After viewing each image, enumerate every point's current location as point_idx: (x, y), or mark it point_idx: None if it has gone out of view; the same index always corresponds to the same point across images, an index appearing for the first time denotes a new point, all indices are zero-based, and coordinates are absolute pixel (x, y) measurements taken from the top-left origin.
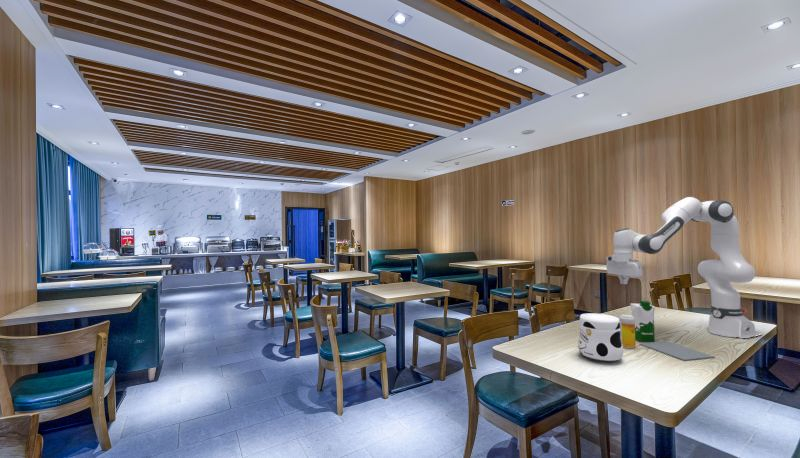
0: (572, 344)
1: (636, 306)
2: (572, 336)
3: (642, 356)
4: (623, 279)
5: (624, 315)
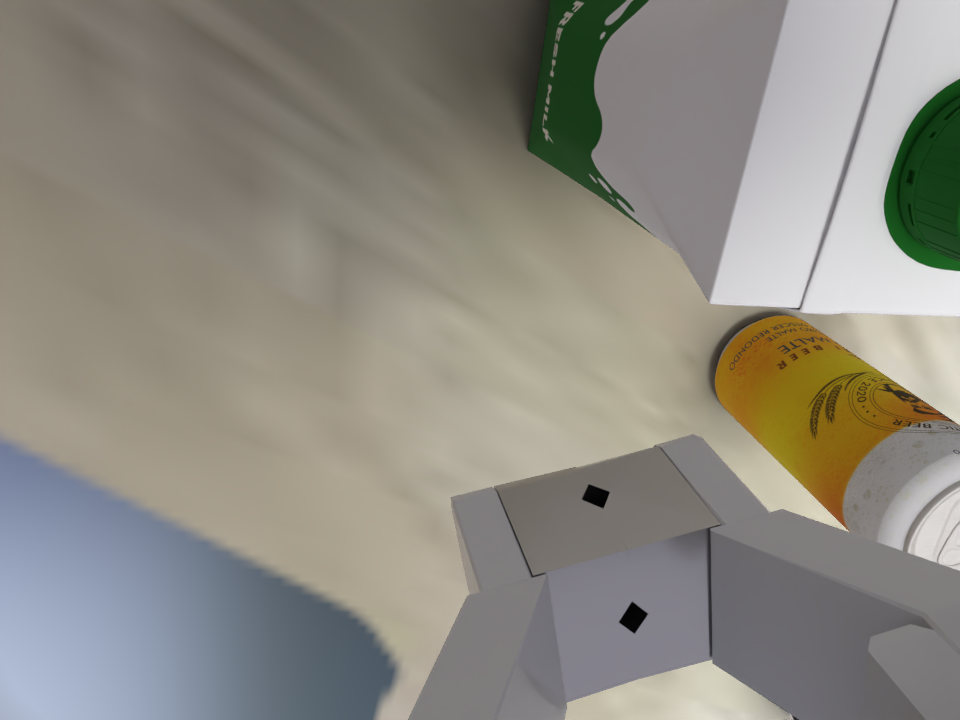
0: (621, 700)
1: (895, 313)
2: (431, 655)
3: (948, 374)
4: (538, 625)
5: (927, 539)
